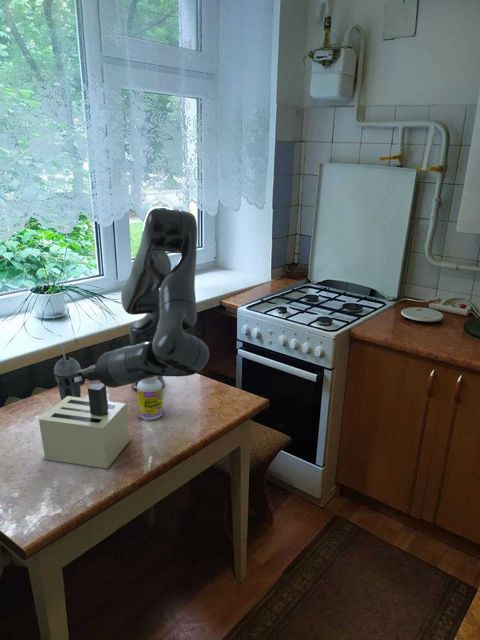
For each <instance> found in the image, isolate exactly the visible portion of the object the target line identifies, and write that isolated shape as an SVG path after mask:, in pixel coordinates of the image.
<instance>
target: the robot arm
mask: <svg viewBox="0 0 480 640" xmlns="http://www.w3.org/2000/svg"><path fill="white" fill-rule="evenodd" d="M197 251H198V222H197V219H196V217H195V215H194V214H193V213H192V212H190V211H186V210H181V209H176V208H170V207H164V206H153V207H151V208H150V209H149V210H148V212H147V214H146V216H145V219H144V223H143V228H142V233H141V237H140V244H139V246H138V249H137V253H136V255H135V257H134V258H133V259H134V260H133V263H132V266H131V270H130V274H129V276H128V278H127V280H126V281H125V283H124V284H123V286H122V290H121V294H120V295H121V296H120V299H121V300H120V301H121V302H120V303H121V306H122V309H123V311H125V313H127V314H128V315H133V316H134V315H135V316H136V315H145V316H143V317H142V318H141V319H139V320H137V321H134V322H133V323H131V324H130V326H129V328H128V331H129V344H130V345H127V346H123V347H120V348H117V349H113V350H111V351H110V350H109V351H107V352H104V353H103V354H101V355H100V356H99V357H98V358H97V361H96V364H92V365H90V366H89V367H86V368H83V369H82V368H81V370H78V371H77V373H76V374H72V375H71V374H70V375H68V376H62V378H60V379H59V384H60V387H61V388H64V389H69V388H70V387H74V386H78V385H80V387H85V386H88V385H93V384H104V385H105V386H106V388H113V389H115V388H120V387H124V386H128V385H132V387H133V389H134V390H135V391H137V384H138V382H139V381H141V380H144V379H148V378H152V377H156V376H158V378H157V379H158V380H159V381H160V382H161V383H162V388H163V387H164V385H165V383H164V377H189V376H193V375H195V374H198V373H199V372H201V371H202V370H203V369H204V368H205V367H206V366H207V364H208V362H209V359H210V350H209V347H208V345H207V344H206V343H205V341H203V340H202V339H200V338H198V337H197V336H194V335H192V334H190V333H189V332H187V331H190V330H191V329H193V328H194V327H195V325H196V324H197V321H198V310H197V301H196V300H197V299H196V283H195V282H196V269H197V268H196V267H197V254H198V253H197ZM168 253H174V254H180V258H179V260H178V262H176V263H175V266H173V268H172V262H171V259H170V257H169V255H168ZM84 372H86V373H85V374H84ZM86 380H87V381H86Z"/></svg>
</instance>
